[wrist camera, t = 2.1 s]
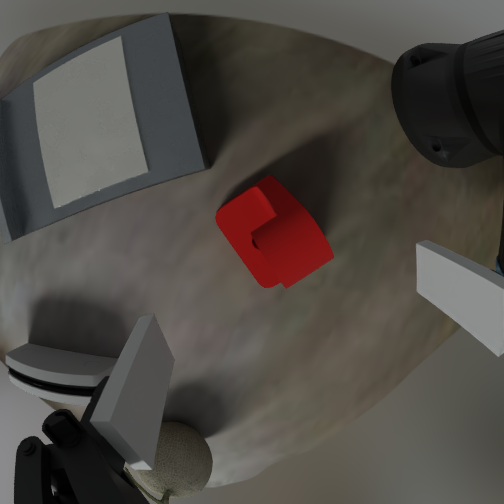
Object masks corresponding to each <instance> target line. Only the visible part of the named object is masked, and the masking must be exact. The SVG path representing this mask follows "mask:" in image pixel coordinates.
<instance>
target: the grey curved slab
mask: <svg viewBox="0 0 504 504" xmlns="http://www.w3.org/2000/svg"><path fill="white" fill-rule="evenodd" d="M117 360H118V358H111V357H103V356H96V355H89V354H83V353H76V352H71V351H65V350H60V349H54V348H49V347H45V346H40V345H35V344H31V343H27V344H25V345H22V346H20V347H18V348H16V349H14V350H12V351H10V352H8V353H6V364H7V365H8V367H9V371H8V374H9V377H10V380H11V382H12V383H13V384H15V385H16V386H17V387H19V388H21V389H22V390H24V391H26V392H28V393H31V394H33V395H35V396H38V397H41V398H44V399H48V400H52V401H56V402H61V403H67V404H74V405H87V406H88V403H90V399H91V397H92V395H94V394H93V393H94V391H95V389H96V387H97V385H98V384H99V383H100V382H101V380H102V379H103V378H104V377H105V376H110V375H111V373H112V371H113V369H114V367H115V364H116V362H117Z"/></svg>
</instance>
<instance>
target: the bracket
mask: <svg viewBox="0 0 504 504" xmlns="http://www.w3.org/2000/svg"><path fill="white" fill-rule="evenodd" d="M215 219H216V223H217V225H218V227H219V228H220V230H221V231H222V232H223V234H224V235H225V237H226V238H227V240H228V241H229V242H230V244H231V245H232V247H233V248H234V249H235V251H236V252H237V254H238V255H239V256H240V258H241V259H242V261H243V262H244V264H245V265H246V266H247V268H248V269H249V271H250V272H251V273H252V275H253V276H254V278H255V279H256V280H257V282H258V283H259V284H260V285H261V286H262V287H264V288H270V287H273V286H275V285H277V284H279V283H280V282H281V283H282V284H283V286H284V287H285V288H286V289H287V288H288V287H290V286H292V285H293V284H295V283H296V282H298V281H299V280H301V279H302V278H304V277H306V276H307V275H309V274H310V273H312V272H313V271H315V270H316V269H318V268H319V267H321V266H322V265H324V264H325V263H327V262H328V261H330V260H331V259H333V258H334V255H333V252H332V250H331V247H330V245H329V243H328V241H327V240H326V238H325V236H324V234H323V233H322V231H321V230H320V228H319V226H318V225H317V223H316V222H315V221H314V219H313V218H312V216H311V215H310V214H309V212H308V211H307V210H306V209H305V208H304V207H303V206H302V205H301V204H300V203H299V202H298V201H297V200H296V199H295V198H294V197H293V196H292V195H291V194H290V193H289V192H288V191H287V190H286V189H285V188H284V187H283V186H282V185H281V184H280V183H279V182H278V181H277V180H276V179H275V178H274V177H273V176H272V175H268V176H266V177H265V178H263V179H262V180H260V181H258V182H257V183H255V184H254V185H252V186H251V187H249V188H248V189H246V190H245V191H243V192H242V193H240V194H239V195H237V196H236V197H234V198H233V199H231V200H230V201H228V202H227V203H225V204H224V205H222V206H221V207H220V208H219V209H218V211H217V213H216V217H215ZM252 238H253V239H254V241H255V243H254V242H253V241H252Z"/></svg>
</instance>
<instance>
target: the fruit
mask: <svg viewBox="0 0 504 504" xmlns="http://www.w3.org/2000/svg"><path fill="white" fill-rule="evenodd" d="M212 463H213V460H212V454H211V451H210V448H209V446H208V444H207V442H206V441H205V439H204V438H203V437H202V436H201V435H200V434H199V433H198V432H197V431H196V430H195V429H193V428H191V427H190V426H188V425H186V424H183V423H179V422H163V423H161V427H160V432H159V437H158V442H157V448H156V453H155V459H154V465H153V470H136V472H137V474H138V476H139V478H140V479H141V481H142V482H143V483H144V484H145V486H146V487H147V488H149V489H150V490H151V491H153V492H155V493H157V494H160V495H162V496H163V497H162V499H161V500H157V499H156V498H154V497H153V496H151V495H150V494H149V493H148V492H147V491H145V490H144V489H143V488H142V487H141V486H140V485H139V484H138V483H137V482H136V481H135V480H134V478H133V477H132V475H131V474H130V472H129V471H128V469H127V468H126V467H125V470H126V472H127V473H128V474H129V476H130V477H131V479H132V480H133V482H134V483H135V484H136V485H137V486H138V488H139V489H141V490H142V491H143V492H144V493H145V494H146V495H147V496H148V497H149V498H151V499H152V500H153V501H155V502H156V503H158V504H169V502H168V501H169V497H170V498H171V497H172V498H182V497H188V496H191V495H193V494H195V493H197V492H199V491H201V490H202V489H203V488H204V487H205V485H206V484H207V482H208V480H209V478H210V475H211V472H212Z"/></svg>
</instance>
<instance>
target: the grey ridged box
mask: <svg viewBox="0 0 504 504" xmlns="http://www.w3.org/2000/svg"><path fill="white" fill-rule="evenodd" d="M208 169H211V168H210V164H209V160H208V156H207V152H206V148H205V144H204V140H203V136H202V132H201V128H200V124H199V120H198V116H197V112H196V108H195V104H194V100H193V96H192V92H191V88H190V84H189V79H188V75H187V71H186V67H185V63H184V58H183V54H182V50H181V45H180V41H179V38H178V36H177V33H176V31H175V28H174V26H173V23H172V21H171V18H170V16H169V14H168V12H166V13H163V14H159V15H156V16H153V17H150V18H148V19H145V20H142V21H139V22H136V23H134V24H131V25H129V26H126V27H124V28H121V29H119V30H116V31H114V32H112V33H110V34H107V35H105V36H103V37H101V38H99V39H96V40H94V41H92V42H90V43H88V44H86V45H84V46H82V47H80V48H79V49H77V50H75V51H73V52H71V53H69V54H68V55H66V56H64V57H62V58H61V59H59V60H57V61H56V62H54V63H52V64H51V65H49V66H47V67H46V68H44V69H43V70H41V71H40V72H38V73H37V74H35V75H34V76H32V77H31V78H29V79H28V80H26V81H25V82H24V83H22V84H21V85H19V86H18V87H17V88H15V89H14V90H13V91H11V92H10V93H9V94H8V95H6V96H5V97H4V98H3V99H1V100H0V231H1V235H2V238H3V241H4V244H7V243H9V242H11V241H13V240H16V239H18V238H20V237H22V236H25V235H27V234H29V233H32V232H34V231H36V230H39V229H41V228H44V227H46V226H48V225H51V224H53V223H55V222H58V221H60V220H62V219H65V218H67V217H70V216H72V215H74V214H77V213H79V212H82V211H84V210H87V209H89V208H92V207H95V206H97V205H100V204H102V203H105V202H108V201H111V200H113V199H116V198H119V197H122V196H124V195H127V194H130V193H133V192H136V191H139V190H142V189H145V188H148V187H151V186H154V185H157V184H160V183H164V182H167V181H170V180H173V179H177V178H180V177H183V176H187V175H190V174H194V173H197V172H201V171H204V170H208Z"/></svg>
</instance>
